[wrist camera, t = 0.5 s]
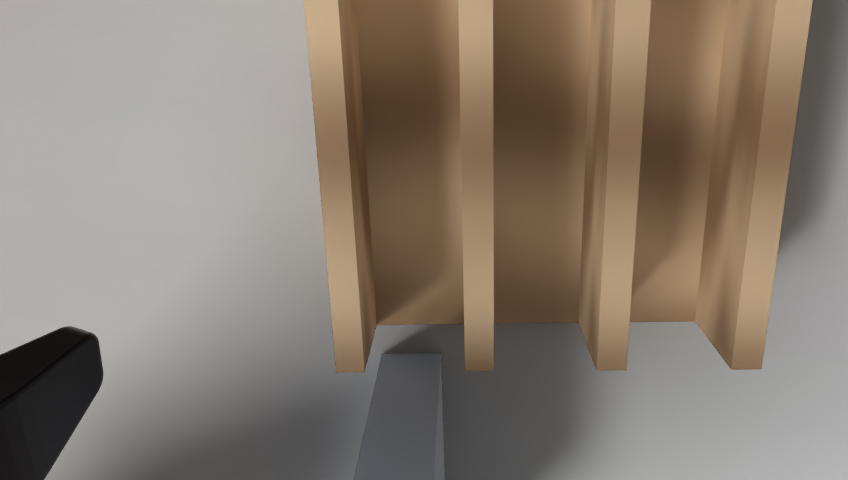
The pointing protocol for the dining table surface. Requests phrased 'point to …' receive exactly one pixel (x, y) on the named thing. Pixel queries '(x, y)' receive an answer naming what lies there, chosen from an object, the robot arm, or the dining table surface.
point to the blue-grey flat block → (404, 421)
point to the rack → (554, 166)
